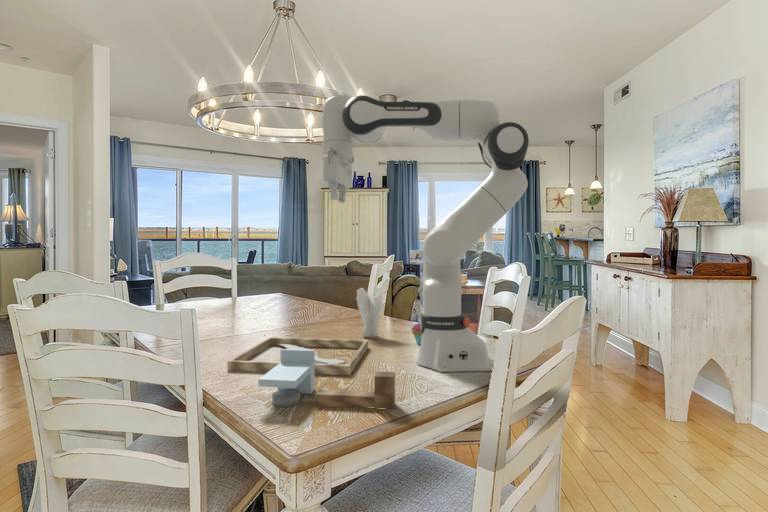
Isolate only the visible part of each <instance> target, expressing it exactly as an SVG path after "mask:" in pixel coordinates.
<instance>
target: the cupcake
mask: <svg viewBox="0 0 768 512" xmlns="http://www.w3.org/2000/svg"><path fill="white" fill-rule="evenodd" d="M418 309H419V310H418V312H419V320H420V321H419V322H418V323H416V324H414V325H413V326H412V327H411V333H412V334H413V336H414V338H415V342H416V344H418V345H420V344H421V337H422V333H421V314H422V310H421V308H420V307H418Z"/></svg>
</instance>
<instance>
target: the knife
mask: <svg viewBox="0 0 768 512" xmlns="http://www.w3.org/2000/svg"><path fill="white" fill-rule="evenodd" d="M279 345H281V347H284V349H301V350H311V349H310V348H308V347H304V346H295V345H289V344H279ZM318 353H319V351H318V352H317V351H315V350H314V363H316V364H343V365H346V361H345V360H342V359H339V358H332V359H330V358H323V357H319V355H318Z"/></svg>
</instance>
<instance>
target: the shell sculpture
mask: <svg viewBox="0 0 768 512" xmlns="http://www.w3.org/2000/svg"><path fill="white" fill-rule="evenodd" d="M356 294H357V295H356V302H357V303H356V305H357V309H358V311H359V314H360V317H361V320H362V322H363V325H364V328H363V331H362V333H361V334H362V336H363V337H364V338H375V337H377V336H379V334H380V333H379V329H378V326H379V321H380V318H381V317H380V316H381V313H382V307H383V300H384V297H383V292H382V291H381V292H379V293H378V294H377V295H369V294H368V293H367V291H366V290H365V288H364V287H360V288H359V289H358V288H357V290H356Z"/></svg>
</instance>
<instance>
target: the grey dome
mask: <svg viewBox="0 0 768 512" xmlns="http://www.w3.org/2000/svg"><path fill="white" fill-rule="evenodd" d="M271 396H272V397H271V403H272V405H274V406H276V407H285V408H286V407H292V406H295V405H298V404H299V403H300V401H301V393H300V392H299V391H298V390H294V389H284V390H279V391H278V390H276V391H274V392H272V394H271Z"/></svg>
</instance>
